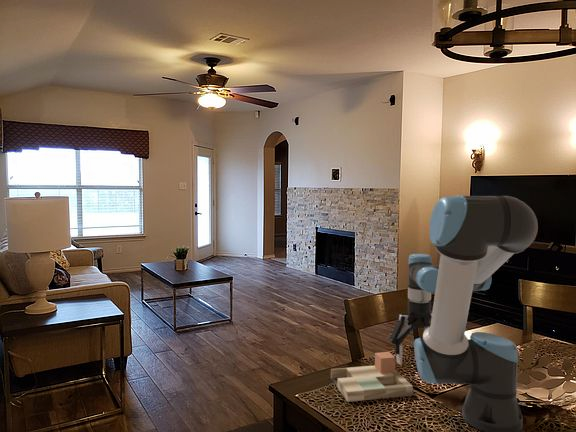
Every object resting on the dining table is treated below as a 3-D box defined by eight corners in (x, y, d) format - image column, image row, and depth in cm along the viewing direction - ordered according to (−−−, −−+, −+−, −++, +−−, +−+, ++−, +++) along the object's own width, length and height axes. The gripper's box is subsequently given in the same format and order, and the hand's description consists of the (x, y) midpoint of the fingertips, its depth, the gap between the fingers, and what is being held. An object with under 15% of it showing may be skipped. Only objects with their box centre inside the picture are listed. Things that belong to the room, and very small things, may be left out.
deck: (412, 395, 135) (412, 386, 135) (347, 401, 131) (347, 392, 131) (389, 372, 152) (389, 364, 152) (330, 377, 148) (330, 369, 147)
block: (394, 372, 145) (395, 357, 145) (380, 373, 144) (380, 358, 144) (388, 366, 150) (388, 351, 150) (374, 367, 149) (374, 352, 149)
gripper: (447, 295, 154) (445, 355, 155) (379, 299, 149) (379, 360, 151) (459, 301, 146) (457, 363, 148) (388, 304, 142) (387, 368, 143)
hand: (418, 361), depth 149 cm, fingers open, 13 cm apart
